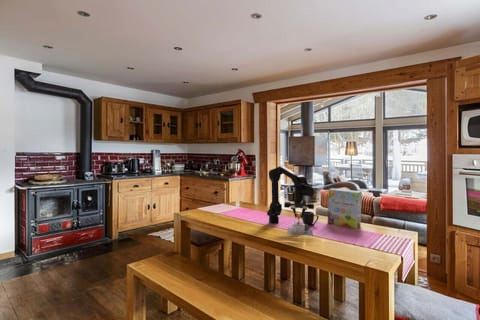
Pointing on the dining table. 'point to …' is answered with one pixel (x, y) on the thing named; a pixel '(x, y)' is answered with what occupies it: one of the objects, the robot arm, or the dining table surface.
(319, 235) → the dining table surface
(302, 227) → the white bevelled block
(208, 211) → the dining table surface
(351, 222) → the snack box
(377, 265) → the dining table surface
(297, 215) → the plunger
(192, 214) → the dining table surface
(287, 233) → the slate board
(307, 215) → the mug
